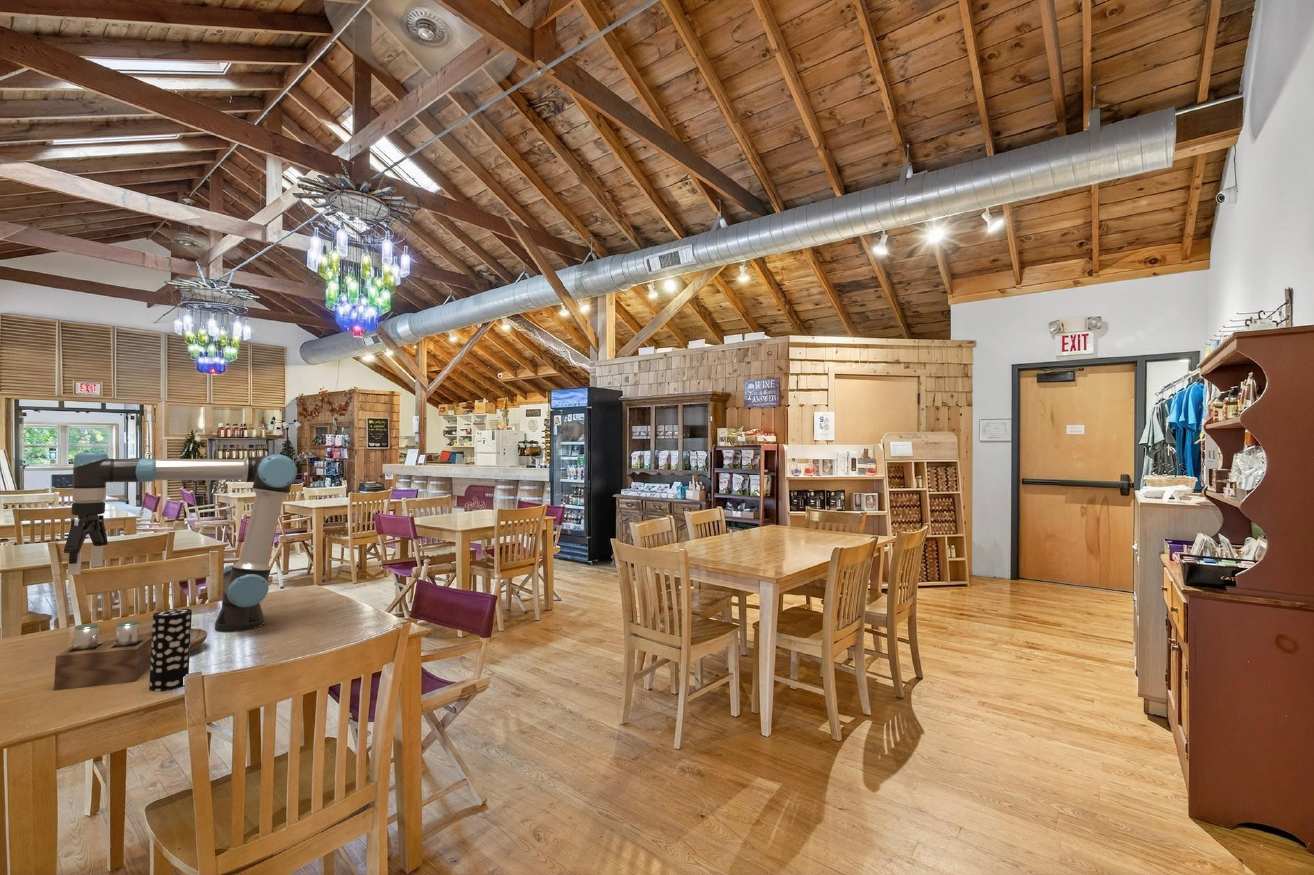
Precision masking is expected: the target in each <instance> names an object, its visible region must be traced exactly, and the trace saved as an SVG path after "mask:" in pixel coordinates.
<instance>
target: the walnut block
mask: <svg viewBox="0 0 1314 875" xmlns="http://www.w3.org/2000/svg"><path fill="white" fill-rule="evenodd" d="M151 644H152V637H145V638H138V645H137V646H131V647H120V648H116V639H112V640H101V641H99V640H98V648H96V649H95V650H86V651H74V644H73V645H72V646H71V647H68V648H67V649H65V650H64V651H62V652H60V653H58V654H57V655H55V665H54V667H55V668H54V682H53V683H54V684H53V691H59V690H69V689H76V688H77V689H78V688H87V687H96V686H105V685H113V684H114V685H115V684H123V683H133V682H136V681H137V680H138V679H139V678H141V676H143V675H144V674H145V673H146V672H147V671H148V670H150V663H151Z"/></svg>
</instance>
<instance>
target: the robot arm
mask: <svg viewBox="0 0 1314 875" xmlns="http://www.w3.org/2000/svg"><path fill="white" fill-rule="evenodd" d="M72 468H73V470H72V471H73V472H72V491H71V492H70V494H71V496H72V498H71V499H72V501H73V503H71V512H70V513H71V515H73V516H77V518H75V519H73V518H72V519H71V521H70V522H71V523H70V529H69V532H68V536H67V538H66V541H65V545H64V549H63V553H64V554H68V557H67V558H68V559H67V576H72V575H74V576H75V575H81V571H82V569H81V568H82V554H83V552H81V549H82V546H83V544H84V542H85V540H86V537H87V535H89V538H90V541H91V543H92V546H91V550H90V551H91V552H90V567H92V568H94V567H103V565H104V564H103V562H104V546H107V545H108V536H107V532H106V528H105V527H106V526H105V522H104V520H105V518H104V514H105V512H106V502H104V501H105V500H107V498H106V497H107V483H147V482H149V483H150V482H151V483H152V482H154V481H243V483H253V485H252V487H251V488H252V490H253V491H254V493H255V496H254V501H253V504H252V509H251V512H250V515H249V520H248V524H247V528H246V532H245V537H244V539H243V544H242V547H241V551H240V555H239V556H240V557H239V559H238V561H236V562H235V563H233V564H231V565H230V564H229V565H226V566H225V567H224V568H223V572H222V577H223V579H222V596H221V609H220V611H219V613H218V615H217V618H216V621H215V622H214V631H217V632H221V633H223V632H224V633H232V632H241V631H242V632H243V631H248V630H253V628H254V629H256V628H255V627H257V628H259V627H258V626H260V625H262V624H263V623H264V622H265V621H266V618H265V614H264V612H263V609H262V605H261V602H262V601H263V600H264V599H265V598H266V596H267V595H268V594H269V587H270V586H269V578H270V574H271V570H272V567H271V566H270V565H269V563H268V562H269V558H270V554H271V550H272V545H273V542H274V537H275V534H276V529H277V525H278V522H279V516H280V513H281V510H282V505H283V500H284V498H285V497H287V496H289V495H290V493H291V489H292V484H293V482H294V480H296V477H297V474H298V473H297V472H298V469H297V464H296V463H295V462H294V460H292V459H291V457H289V456H286V455H284V454H277V453H276V454H275V453H274V454H267V455H259V456H245V457H244V458H242V459H237V458H235V459H234V458H233V459H229V458H228V459H227V458H226V459H225V458H224V459H220V458H218V459H217V458H215V459H214V458H211V459H210V458H209V459H208V458H138V457H136V458H135V457H131V458H109V457H108V453H107V452H93V451H92V452H88V451H87V452H82V451H81V452H77V453H75V455H74V459H73V467H72ZM265 623H266V622H265ZM265 623H264V624H265ZM262 626H263V625H262ZM260 627H261V626H260Z"/></svg>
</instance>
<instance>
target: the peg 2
mask: <svg viewBox="0 0 1314 875" xmlns="http://www.w3.org/2000/svg"><path fill="white" fill-rule="evenodd" d="M115 631H116V633H115V635H116V636H115V640H116V648H120V647H131V646H137V645H138V635H140V634H139V632H140V621H139V620H128V621H122V622H118V623H117V624H116V630H115Z"/></svg>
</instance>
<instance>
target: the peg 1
mask: <svg viewBox="0 0 1314 875" xmlns="http://www.w3.org/2000/svg"><path fill="white" fill-rule="evenodd" d="M99 627H100V624H99V623H88V624H80V625H77V626H75V627H74V640H73V642H74V643H73V645H74V651H86V650H95V649H96V648H98V641H99V629H100V628H99Z"/></svg>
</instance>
